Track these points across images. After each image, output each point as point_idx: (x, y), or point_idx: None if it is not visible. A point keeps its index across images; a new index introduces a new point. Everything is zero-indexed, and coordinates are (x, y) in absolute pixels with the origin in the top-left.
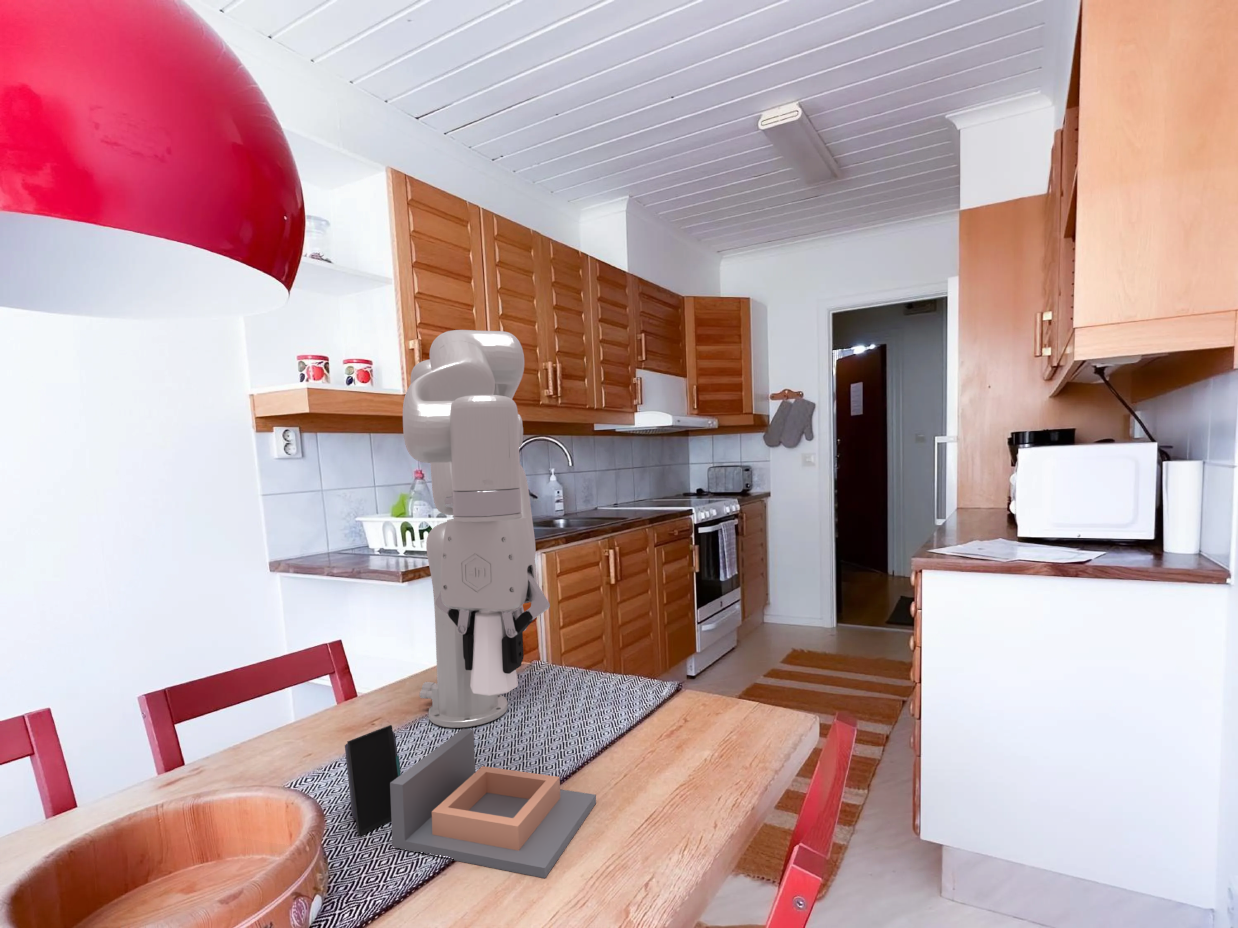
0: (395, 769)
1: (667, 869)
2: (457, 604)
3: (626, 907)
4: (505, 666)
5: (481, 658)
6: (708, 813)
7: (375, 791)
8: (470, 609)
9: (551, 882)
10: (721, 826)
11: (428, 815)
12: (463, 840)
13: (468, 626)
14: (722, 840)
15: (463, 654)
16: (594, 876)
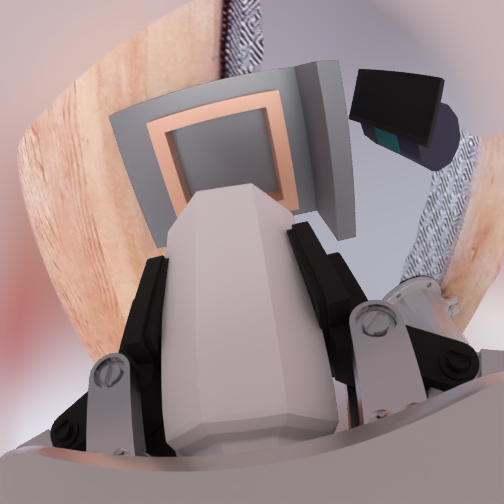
0: (383, 128)
1: (42, 194)
2: (442, 431)
3: (37, 135)
4: (150, 266)
5: (226, 247)
6: (70, 277)
7: (380, 96)
8: (311, 442)
9: (103, 114)
10: (52, 266)
11: (304, 112)
12: (227, 98)
13: (351, 346)
14: (40, 250)
15: (341, 257)
16: (78, 147)
